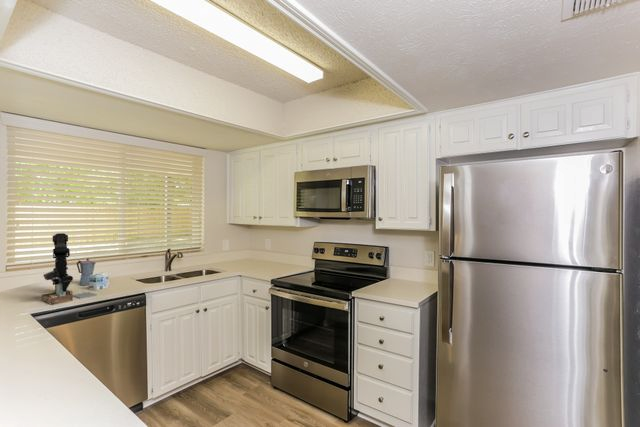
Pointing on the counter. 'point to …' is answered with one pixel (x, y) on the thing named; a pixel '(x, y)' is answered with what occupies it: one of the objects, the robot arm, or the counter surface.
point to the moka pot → (86, 271)
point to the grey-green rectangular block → (59, 290)
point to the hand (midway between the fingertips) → (61, 290)
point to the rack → (58, 299)
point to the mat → (84, 295)
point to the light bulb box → (99, 281)
